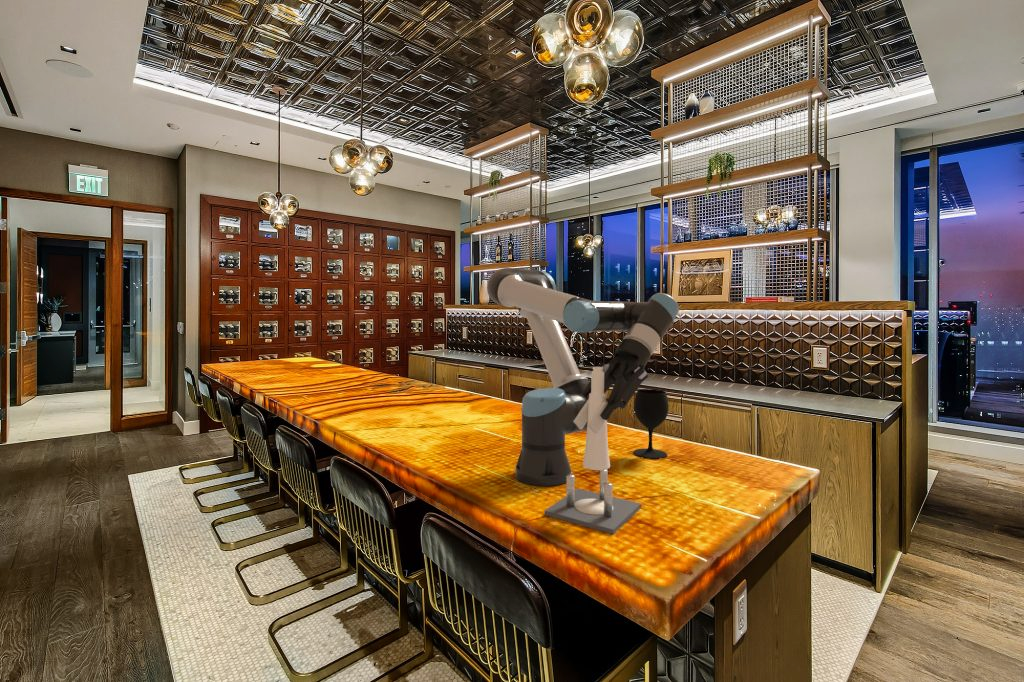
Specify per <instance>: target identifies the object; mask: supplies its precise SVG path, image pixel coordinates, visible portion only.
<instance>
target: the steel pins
mask: <svg viewBox="0 0 1024 682" xmlns="http://www.w3.org/2000/svg"><path fill="white" fill-rule="evenodd" d="M608 474H609V471H608V469H606V470H599V499H600V500H604V517H607V518H611V517H612V499H613V497H614V496H613V492H614V491H613V490H614V489H613V488H614V487H613V485H614V483H613V482H610V481H608V480H609V479H608V478H609V476H608ZM575 479H576V478H575V474H573V473H571V474H567V482H566V487H565V488H566V491H565V495H566V496H565V497H566V506H567V507H569V508H573V507H574V495H575V490H576V488H575V484H576V483H575V481H576V480H575Z"/></svg>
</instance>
